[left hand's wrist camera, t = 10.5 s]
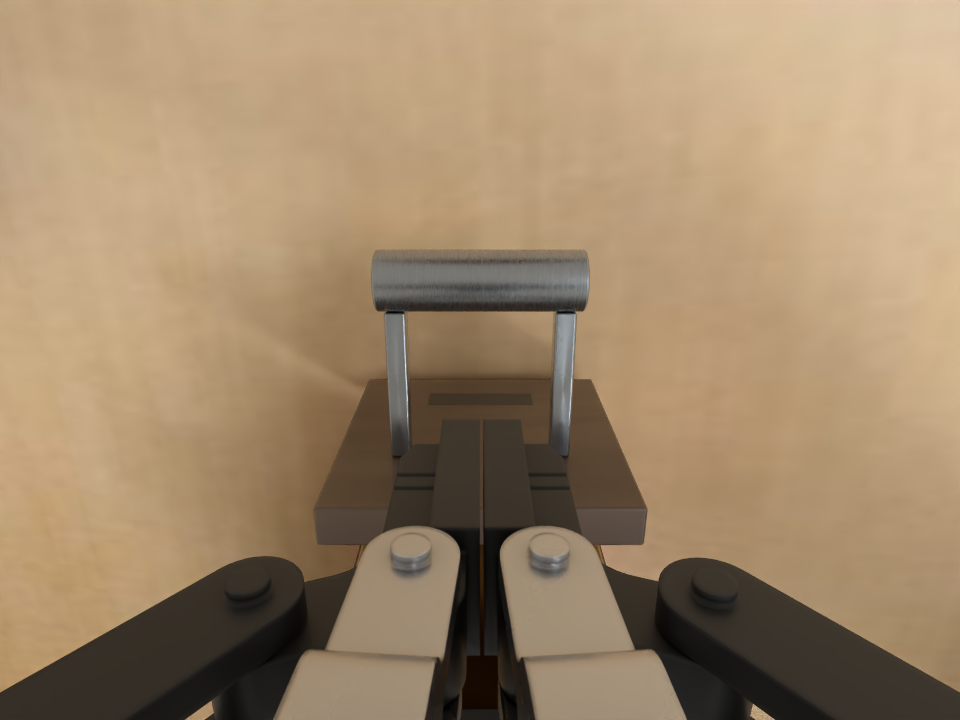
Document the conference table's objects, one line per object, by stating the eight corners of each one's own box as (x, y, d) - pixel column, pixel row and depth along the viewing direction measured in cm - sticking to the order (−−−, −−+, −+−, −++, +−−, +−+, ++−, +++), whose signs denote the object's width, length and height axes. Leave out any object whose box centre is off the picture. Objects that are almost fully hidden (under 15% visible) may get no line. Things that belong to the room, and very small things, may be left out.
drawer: (358, 219, 23) (287, 274, 14) (602, 219, 23) (673, 274, 14) (393, 744, 32) (361, 967, 24) (567, 744, 32) (598, 967, 24)
